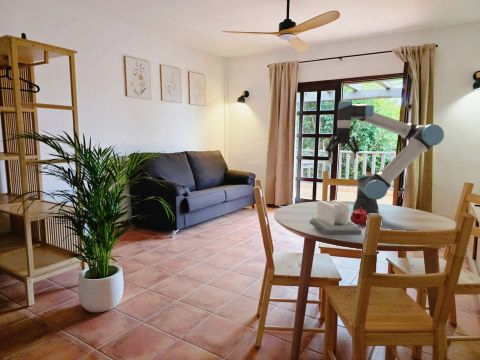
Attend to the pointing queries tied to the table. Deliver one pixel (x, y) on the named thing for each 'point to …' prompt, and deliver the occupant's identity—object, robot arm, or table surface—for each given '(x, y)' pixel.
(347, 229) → the grey green tray
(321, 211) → the cable organizer
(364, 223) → the red tomato
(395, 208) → the table surface
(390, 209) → the table surface
